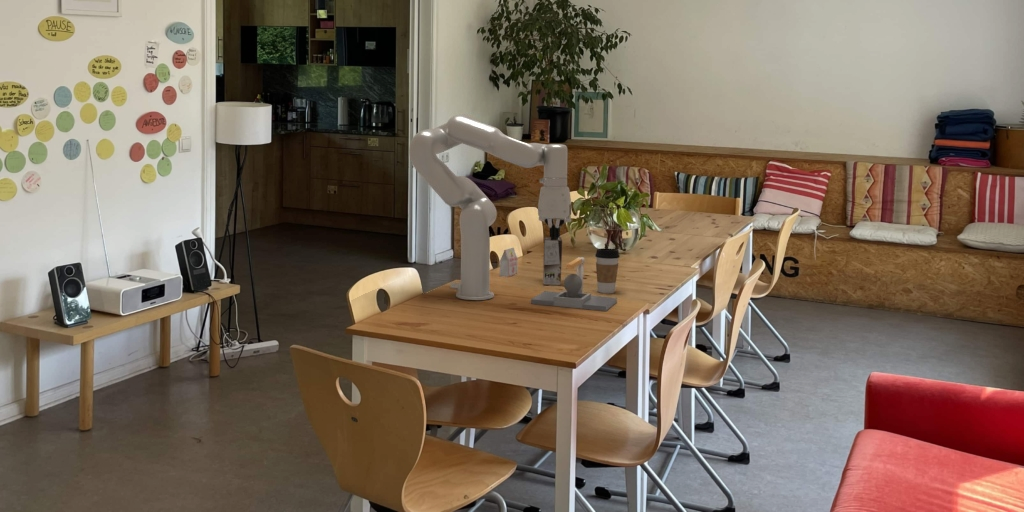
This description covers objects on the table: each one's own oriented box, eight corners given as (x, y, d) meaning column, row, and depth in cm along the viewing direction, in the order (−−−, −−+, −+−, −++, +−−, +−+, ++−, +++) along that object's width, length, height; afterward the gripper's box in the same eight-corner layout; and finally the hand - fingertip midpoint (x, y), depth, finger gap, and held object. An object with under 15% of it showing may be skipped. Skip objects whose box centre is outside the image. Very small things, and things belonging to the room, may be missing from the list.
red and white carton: (499, 276, 353) (500, 249, 351) (508, 273, 359) (509, 247, 357) (508, 277, 351) (508, 250, 349) (517, 274, 357) (517, 248, 355)
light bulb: (565, 306, 305) (566, 276, 303) (561, 302, 311) (561, 272, 309) (583, 306, 306) (584, 275, 304) (578, 302, 312) (579, 272, 310)
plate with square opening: (530, 303, 308) (531, 266, 306) (544, 295, 321) (545, 259, 319) (605, 311, 299) (607, 273, 297) (616, 302, 312) (618, 265, 310)
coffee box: (561, 285, 338) (562, 240, 335) (543, 284, 338) (544, 240, 336) (560, 280, 347) (561, 236, 344) (542, 279, 347) (543, 236, 345)
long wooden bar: (564, 268, 302) (565, 264, 302) (577, 261, 315) (577, 257, 315) (572, 269, 301) (572, 264, 301) (585, 262, 314) (585, 257, 314)
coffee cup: (600, 294, 323) (602, 251, 321) (589, 289, 331) (591, 247, 329) (622, 293, 327) (624, 250, 324) (611, 288, 334) (612, 246, 332)
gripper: (529, 183, 303) (529, 239, 306) (574, 184, 298) (573, 242, 301) (537, 181, 310) (536, 236, 313) (581, 182, 305) (580, 239, 308)
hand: (554, 239), depth 307 cm, fingers closed
